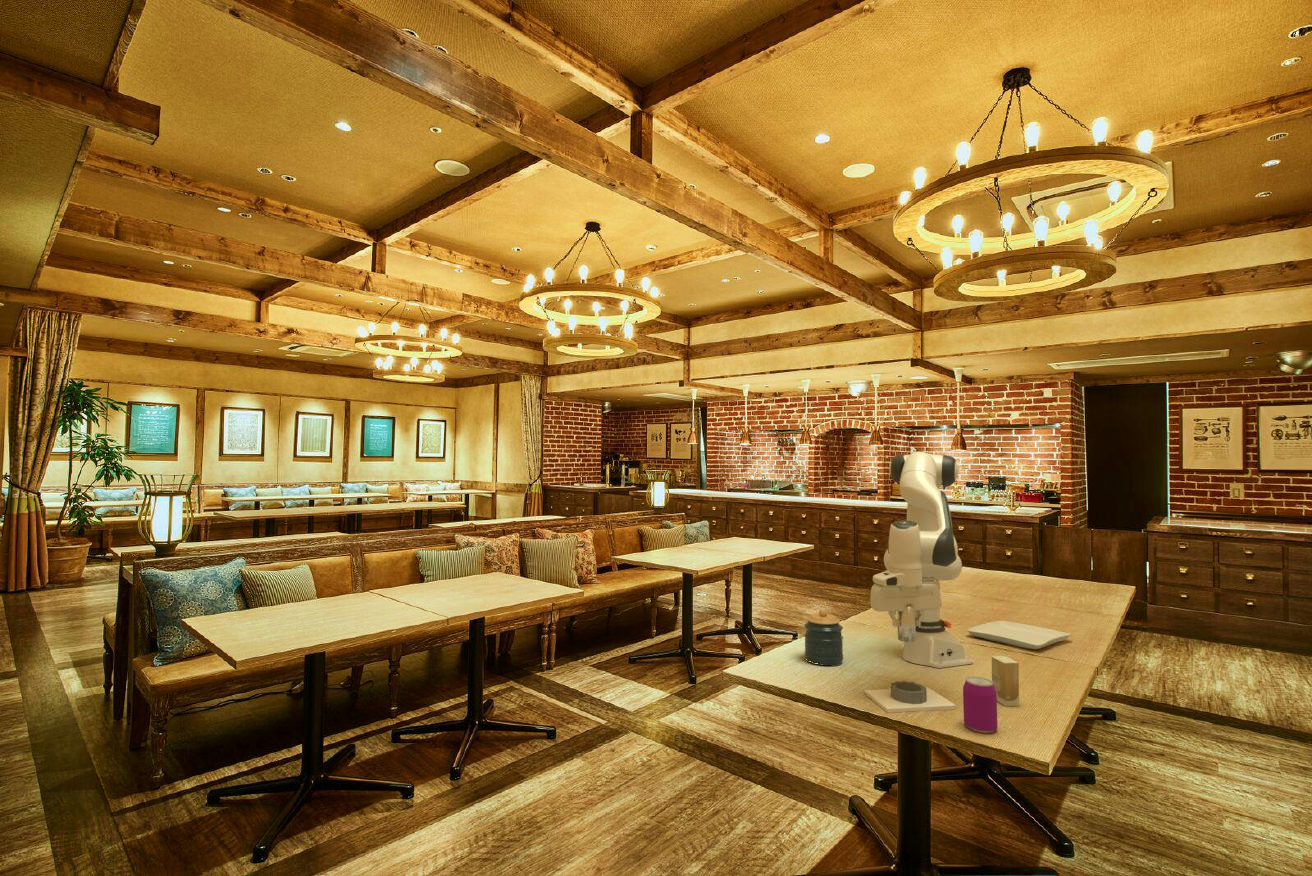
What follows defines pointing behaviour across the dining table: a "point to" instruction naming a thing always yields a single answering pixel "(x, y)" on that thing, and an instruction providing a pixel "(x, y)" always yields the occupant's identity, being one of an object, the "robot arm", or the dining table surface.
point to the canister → (823, 639)
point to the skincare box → (1006, 680)
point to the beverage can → (980, 704)
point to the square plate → (1018, 634)
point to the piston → (907, 624)
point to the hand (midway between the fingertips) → (906, 626)
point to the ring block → (909, 698)
